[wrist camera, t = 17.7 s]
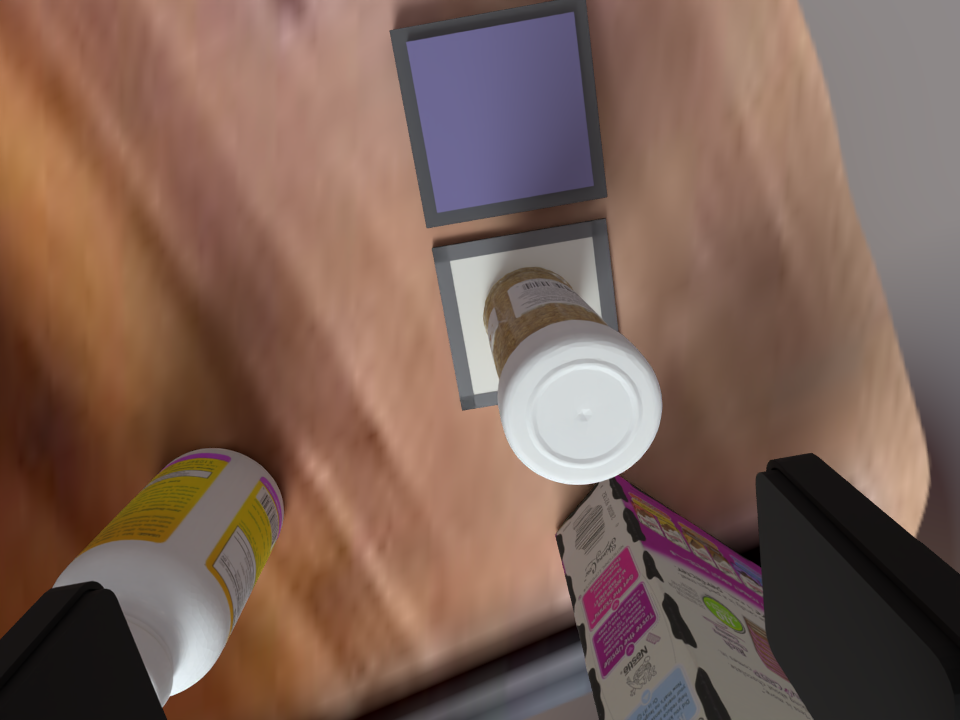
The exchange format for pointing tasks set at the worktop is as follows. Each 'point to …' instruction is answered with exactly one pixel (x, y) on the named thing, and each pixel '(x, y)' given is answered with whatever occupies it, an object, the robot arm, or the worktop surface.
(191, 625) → the supplement bottle
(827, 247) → the worktop surface
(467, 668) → the worktop surface
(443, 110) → the ink pad
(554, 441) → the sprinkles bottle
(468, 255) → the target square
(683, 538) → the candy bar box
